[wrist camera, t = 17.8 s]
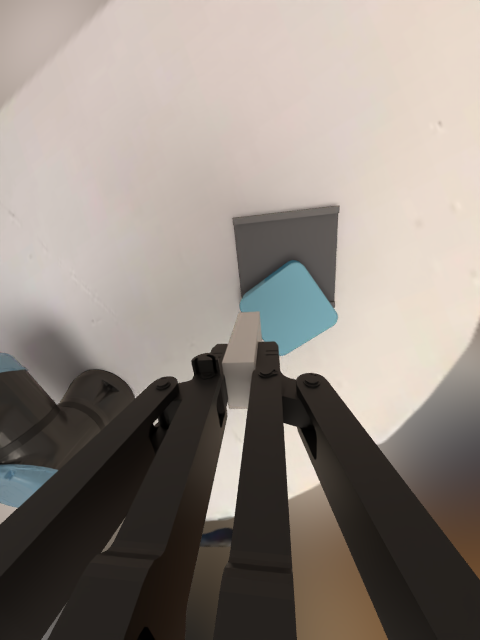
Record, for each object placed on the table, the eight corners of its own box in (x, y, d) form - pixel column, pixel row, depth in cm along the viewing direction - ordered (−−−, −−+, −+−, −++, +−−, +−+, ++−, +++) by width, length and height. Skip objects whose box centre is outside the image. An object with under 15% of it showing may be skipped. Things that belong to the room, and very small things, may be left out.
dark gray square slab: (243, 309, 45) (242, 313, 43) (234, 218, 39) (232, 218, 37) (332, 304, 43) (334, 307, 41) (336, 206, 37) (339, 205, 35)
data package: (238, 298, 43) (277, 348, 45) (235, 304, 38) (278, 359, 41) (295, 255, 39) (335, 312, 41) (298, 257, 35) (342, 320, 37)
